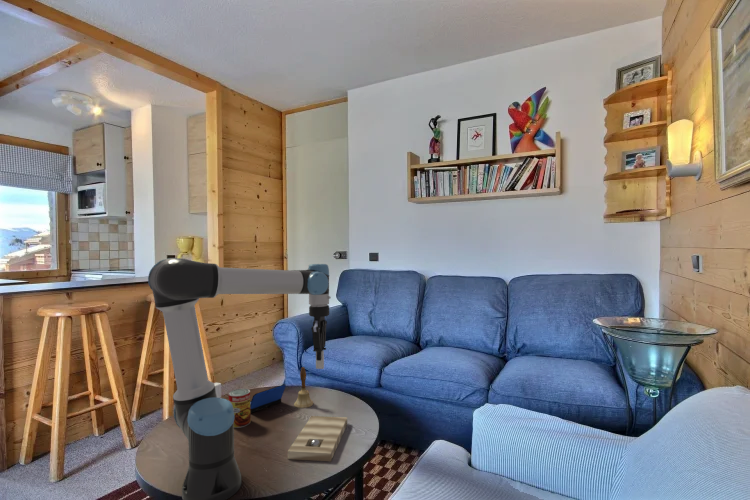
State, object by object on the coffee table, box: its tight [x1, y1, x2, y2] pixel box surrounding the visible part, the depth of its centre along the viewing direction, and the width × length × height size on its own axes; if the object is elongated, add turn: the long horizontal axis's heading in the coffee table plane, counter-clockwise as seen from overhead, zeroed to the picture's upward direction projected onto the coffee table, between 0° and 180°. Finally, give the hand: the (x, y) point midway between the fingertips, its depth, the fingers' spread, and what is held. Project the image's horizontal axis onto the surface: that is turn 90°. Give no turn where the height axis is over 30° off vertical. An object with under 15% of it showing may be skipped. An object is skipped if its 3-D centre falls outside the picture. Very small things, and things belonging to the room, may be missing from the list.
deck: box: [287, 415, 348, 462], centre depth 133 cm, size 26×14×2 cm, turn 173°
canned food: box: [228, 388, 252, 429], centre depth 148 cm, size 8×8×12 cm
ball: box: [309, 439, 320, 447], centre depth 127 cm, size 3×3×3 cm
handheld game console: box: [250, 384, 286, 414], centre depth 164 cm, size 16×13×9 cm
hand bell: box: [293, 366, 314, 409], centre depth 165 cm, size 8×8×16 cm
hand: (319, 368), depth 143 cm, fingers closed
